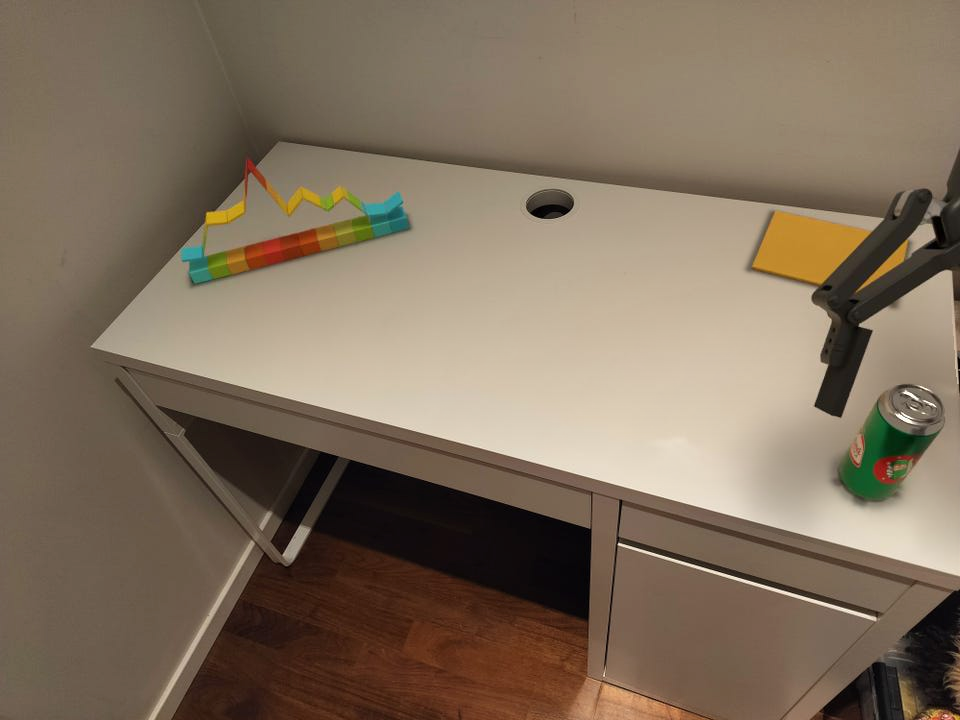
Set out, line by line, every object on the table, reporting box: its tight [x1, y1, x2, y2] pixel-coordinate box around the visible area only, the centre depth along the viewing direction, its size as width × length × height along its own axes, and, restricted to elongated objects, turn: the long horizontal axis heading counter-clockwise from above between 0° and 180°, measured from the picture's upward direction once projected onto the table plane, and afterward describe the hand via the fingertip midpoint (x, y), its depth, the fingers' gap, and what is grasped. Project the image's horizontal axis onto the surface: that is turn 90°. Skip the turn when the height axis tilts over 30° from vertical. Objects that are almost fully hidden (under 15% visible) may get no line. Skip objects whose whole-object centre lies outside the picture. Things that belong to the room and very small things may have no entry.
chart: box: [181, 156, 410, 285], centre depth 89 cm, size 30×3×15 cm, turn 106°
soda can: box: [838, 383, 946, 501], centre depth 59 cm, size 5×5×12 cm
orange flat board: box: [751, 210, 909, 305], centre depth 84 cm, size 16×12×1 cm
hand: (916, 435), depth 49 cm, fingers open, 13 cm apart
